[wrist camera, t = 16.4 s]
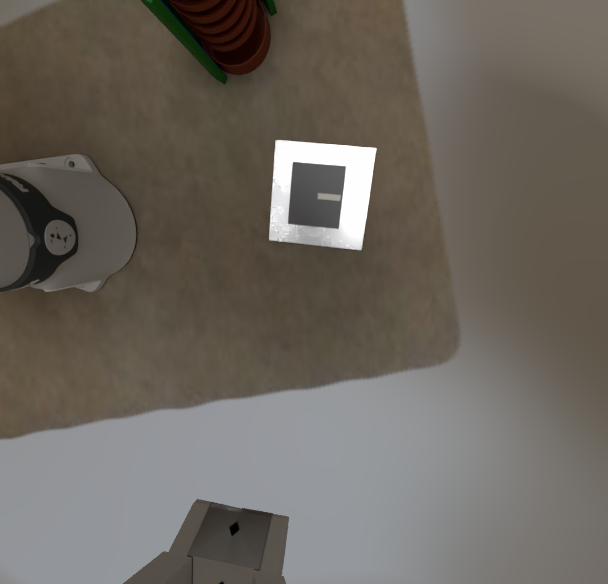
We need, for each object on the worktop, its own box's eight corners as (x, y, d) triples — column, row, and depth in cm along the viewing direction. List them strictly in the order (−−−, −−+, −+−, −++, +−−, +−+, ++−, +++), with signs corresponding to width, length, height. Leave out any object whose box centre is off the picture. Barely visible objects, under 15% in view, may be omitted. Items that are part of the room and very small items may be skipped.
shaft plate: (270, 239, 42) (262, 242, 38) (277, 141, 39) (269, 133, 34) (361, 249, 41) (363, 254, 37) (375, 149, 38) (379, 142, 33)
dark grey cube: (299, 168, 38) (292, 161, 33) (345, 172, 38) (346, 165, 32) (295, 221, 40) (287, 223, 34) (339, 226, 40) (338, 229, 34)
